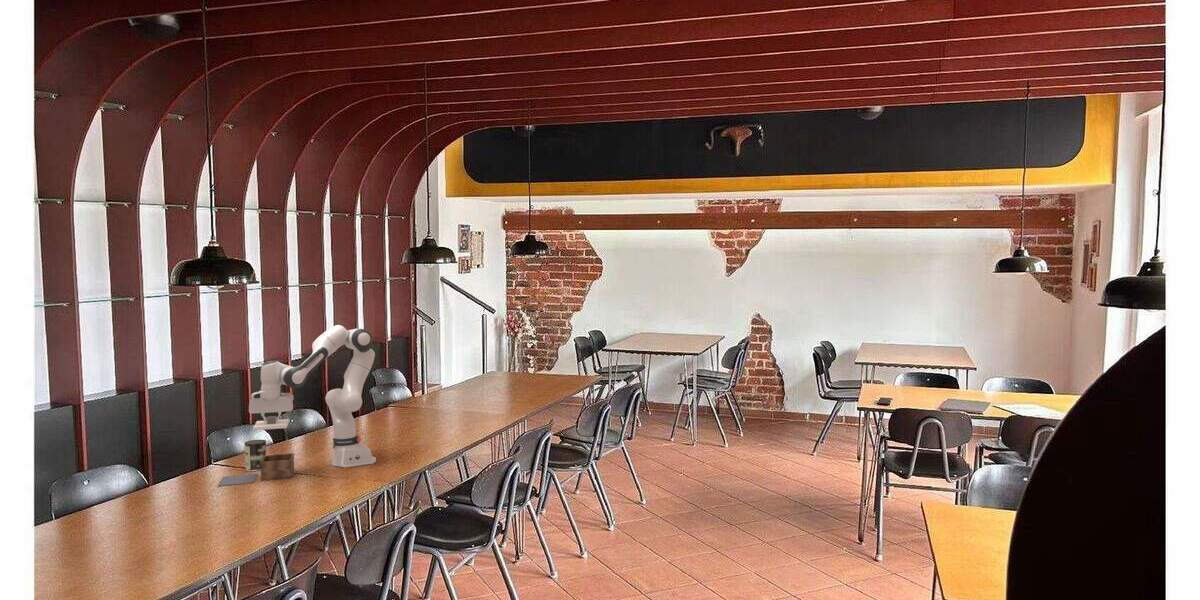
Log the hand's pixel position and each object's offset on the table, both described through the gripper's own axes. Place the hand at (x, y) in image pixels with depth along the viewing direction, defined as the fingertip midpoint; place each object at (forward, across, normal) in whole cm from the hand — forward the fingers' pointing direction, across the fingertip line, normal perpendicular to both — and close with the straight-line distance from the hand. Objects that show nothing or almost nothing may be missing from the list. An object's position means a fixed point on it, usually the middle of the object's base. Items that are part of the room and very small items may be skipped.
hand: (271, 421), depth 383 cm
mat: (+28, +16, +2) cm, 32 cm away
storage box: (+28, -2, 0) cm, 28 cm away
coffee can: (+28, +10, -18) cm, 35 cm away
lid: (+2, 0, 0) cm, 2 cm away
